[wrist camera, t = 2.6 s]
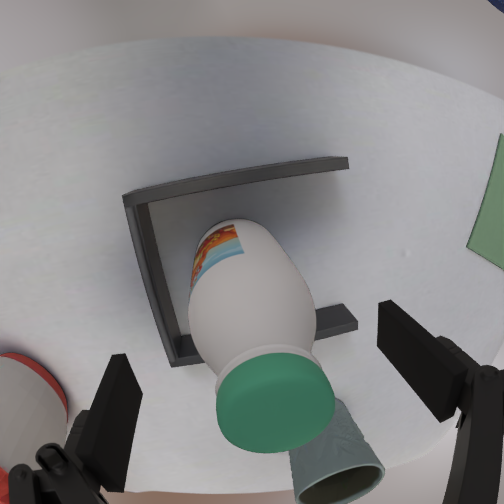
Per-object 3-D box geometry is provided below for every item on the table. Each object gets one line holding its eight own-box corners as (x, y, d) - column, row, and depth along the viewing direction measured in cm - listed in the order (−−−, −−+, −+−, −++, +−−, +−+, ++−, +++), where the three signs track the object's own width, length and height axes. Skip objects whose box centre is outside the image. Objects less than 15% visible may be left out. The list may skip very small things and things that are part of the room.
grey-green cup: (360, 391, 37) (399, 456, 25) (337, 440, 39) (364, 503, 28) (285, 393, 35) (311, 472, 24) (270, 445, 38) (286, 515, 26)
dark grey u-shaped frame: (174, 345, 31) (170, 371, 27) (133, 190, 27) (119, 196, 22) (343, 311, 33) (360, 332, 28) (330, 156, 28) (350, 156, 24)
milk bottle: (262, 204, 28) (359, 299, 9) (288, 279, 31) (383, 435, 12) (181, 236, 28) (133, 382, 9) (214, 308, 31) (225, 490, 12)
